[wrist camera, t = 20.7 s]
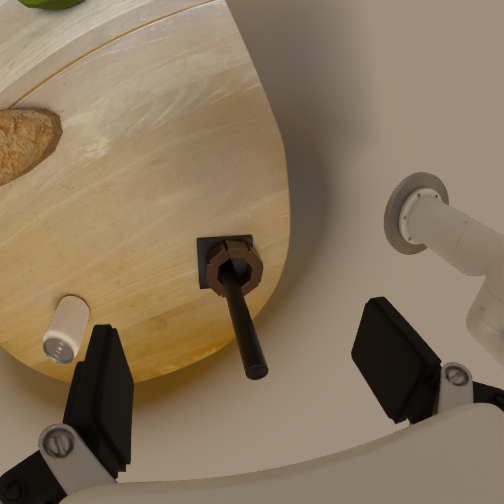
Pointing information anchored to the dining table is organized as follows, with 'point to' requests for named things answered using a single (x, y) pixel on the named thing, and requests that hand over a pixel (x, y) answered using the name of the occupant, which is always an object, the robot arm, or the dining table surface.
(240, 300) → the dark grey peg stand
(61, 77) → the dining table surface
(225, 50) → the dining table surface
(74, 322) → the can
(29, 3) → the apple
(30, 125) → the bread
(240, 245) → the ring
